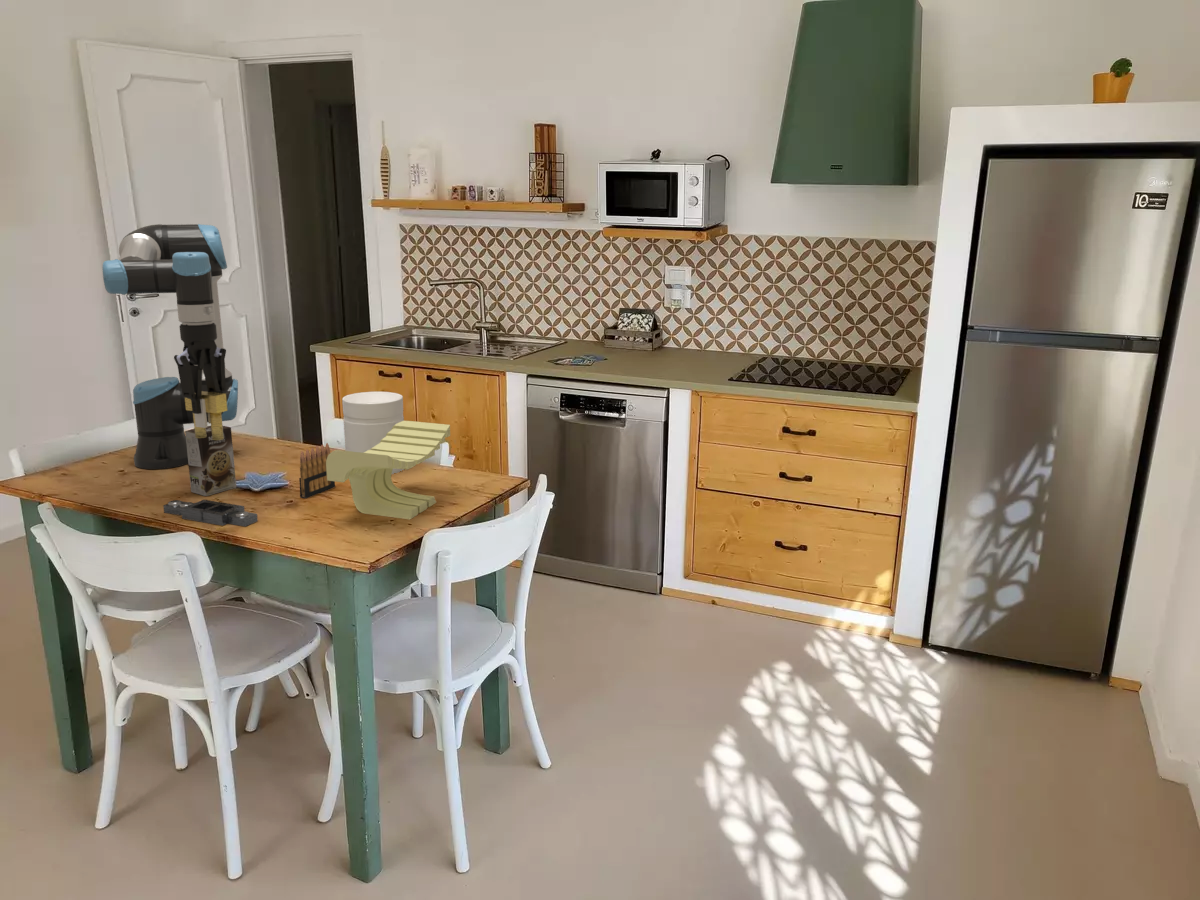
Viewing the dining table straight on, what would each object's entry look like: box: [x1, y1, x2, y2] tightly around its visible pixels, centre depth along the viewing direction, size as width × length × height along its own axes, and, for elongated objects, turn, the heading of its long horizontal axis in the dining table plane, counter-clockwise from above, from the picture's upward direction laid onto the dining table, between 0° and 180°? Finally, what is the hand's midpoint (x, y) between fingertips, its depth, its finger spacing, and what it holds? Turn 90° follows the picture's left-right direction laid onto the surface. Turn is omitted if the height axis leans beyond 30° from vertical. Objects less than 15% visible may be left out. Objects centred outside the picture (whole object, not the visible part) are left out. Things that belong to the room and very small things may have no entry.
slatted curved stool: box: [326, 420, 451, 520], centre depth 217 cm, size 30×16×18 cm, turn 162°
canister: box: [341, 391, 405, 475], centre depth 248 cm, size 16×16×20 cm
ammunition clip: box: [298, 442, 336, 499], centre depth 228 cm, size 11×2×12 cm, turn 154°
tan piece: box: [185, 391, 227, 440], centre depth 207 cm, size 9×3×10 cm, turn 69°
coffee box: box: [184, 425, 237, 497], centre depth 228 cm, size 9×6×16 cm
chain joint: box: [162, 499, 259, 527], centre depth 210 cm, size 24×7×2 cm, turn 69°
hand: (208, 425), depth 207 cm, fingers closed on tan piece, 3 cm apart
